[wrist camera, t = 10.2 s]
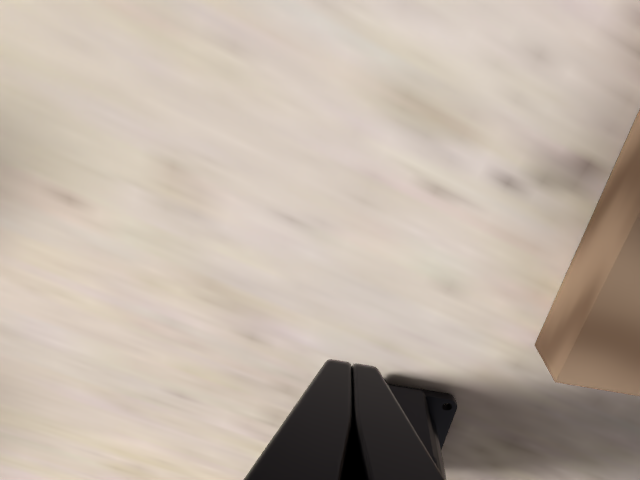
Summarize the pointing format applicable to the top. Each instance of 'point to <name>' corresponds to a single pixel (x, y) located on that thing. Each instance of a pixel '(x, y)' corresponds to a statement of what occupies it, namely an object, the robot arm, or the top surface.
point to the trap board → (602, 291)
